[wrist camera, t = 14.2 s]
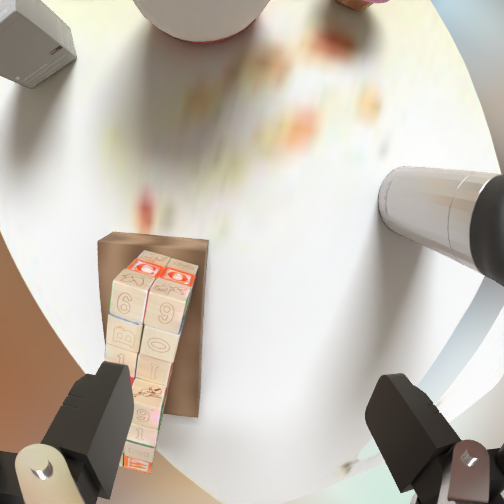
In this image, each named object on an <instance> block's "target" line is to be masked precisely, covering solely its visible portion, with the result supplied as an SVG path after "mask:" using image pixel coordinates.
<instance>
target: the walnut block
mask: <svg viewBox="0 0 504 504" xmlns="http://www.w3.org/2000/svg"><path fill="white" fill-rule="evenodd" d="M144 250H146V251H150V252H154V253H158V254H161V255H164V256H168V257H170V258H174V259H177V260H180V261H184V262H187V263H191V264H194V265H198V266H199V267H198V271H197V274H196V278H195V282H194V285H193V289H192V295H191V299H190V302H189V306H188V310H187V314H186V317H185V321H184V325H183V327H182V331H181V335H180V339H179V343H178V347H177V351H176V355H175V358H176V359H175V363H174V367H173V371H172V375H171V379H170V383H169V388H168V393H167V398H166V402H165V407H164V411H163V413H164V414H171V415H179V416H189V417H198V413H199V402H200V382H201V354H202V331H203V312H204V295H205V280H206V266H207V253H208V240H202V239H191V238H180V237H168V236H157V235H145V234H134V233H122V232H112V233H110V234H109V235H107V236H105V237H104V238H102V239H101V240H99V241H98V272H99V289H100V302H101V312H102V322H103V331H104V339H105V345H106V334H107V322H108V314H109V308H110V298H111V290H112V282H113V280H114V279H115V278H116V277H117V276H118V275H119V273H121V271H122V270H123V269H126V268H127V267H128V266H129V265H130V264H131V263H132V262H133V261H134V259H136V258H137V257H138V256H139V255H140V254H141V253H142V252H143V251H144Z"/></svg>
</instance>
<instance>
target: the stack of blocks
mask: <svg viewBox="0 0 504 504" xmlns="http://www.w3.org/2000/svg"><path fill="white" fill-rule="evenodd" d="M198 267H199V266H198V265H194V264H191V263H187V262H184V261H180V260H177V259H174V258H170V257H168V256H164V255H161V254H158V253H154V252H150V251H146V250H144V251H143V252H142V253H141V254H140V255H139V256H138V257H137V258H136V259H134V261H133V262H132V263H131V264H130V265H129V266H128V267H127V268H126V269H123V270H122V271H121V273H119V275H118V276H117V277H116V278H115V279H114V280H113V282H112V290H111V298H110V308H109V314H108V322H107V334H106V345H105V361H108V362H113V363H119V364H125V365H128V367H129V371H130V378H131V385H132V392H133V398H134V414H133V419H132V422H131V426H130V429H129V432H128V435H127V439H126V442H125V445H124V449H123V452H122V456H121V459H120V463H119V466H124V467H126V468H129V469H132V470H136V471H140V472H144V473H148V474H151V470H152V464H153V459H154V454H155V449H156V444H157V437H158V433H159V428H160V425H161V420H162V415H163V411H164V407H165V402H166V398H167V393H168V388H169V383H170V379H171V375H172V371H173V367H174V363H175V359H176V358H175V355H176V351H177V347H178V343H179V339H180V335H181V331H182V327H183V325H184V321H185V317H186V314H187V310H188V306H189V302H190V299H191V295H192V289H193V285H194V282H195V278H196V274H197V271H198Z"/></svg>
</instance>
